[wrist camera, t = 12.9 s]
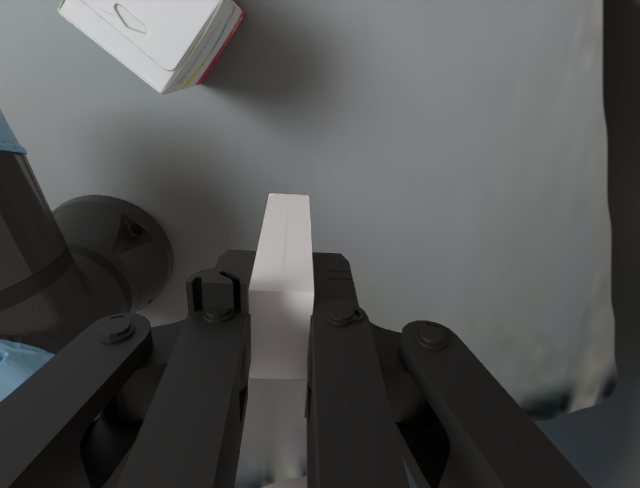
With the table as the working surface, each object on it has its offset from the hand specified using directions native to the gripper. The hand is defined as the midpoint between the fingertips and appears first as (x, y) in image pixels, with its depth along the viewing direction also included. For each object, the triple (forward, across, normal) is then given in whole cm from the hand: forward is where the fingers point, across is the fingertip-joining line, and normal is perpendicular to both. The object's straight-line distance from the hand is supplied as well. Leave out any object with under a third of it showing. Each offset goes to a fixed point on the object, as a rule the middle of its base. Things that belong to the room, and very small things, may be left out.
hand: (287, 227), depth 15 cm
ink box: (+30, -11, +8) cm, 33 cm away
